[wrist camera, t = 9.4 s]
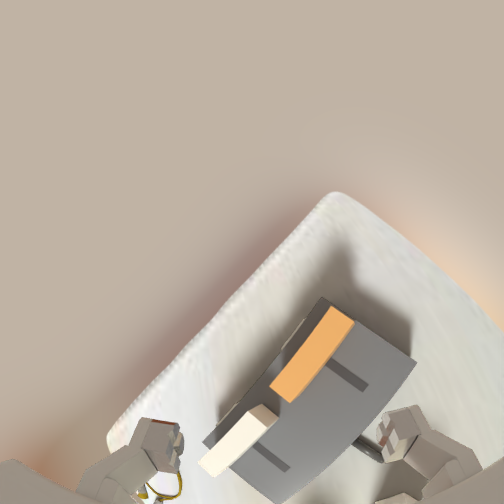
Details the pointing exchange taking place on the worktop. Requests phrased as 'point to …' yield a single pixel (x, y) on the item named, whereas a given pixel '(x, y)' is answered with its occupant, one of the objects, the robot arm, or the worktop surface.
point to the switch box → (316, 409)
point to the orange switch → (312, 354)
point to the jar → (398, 499)
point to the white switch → (238, 440)
